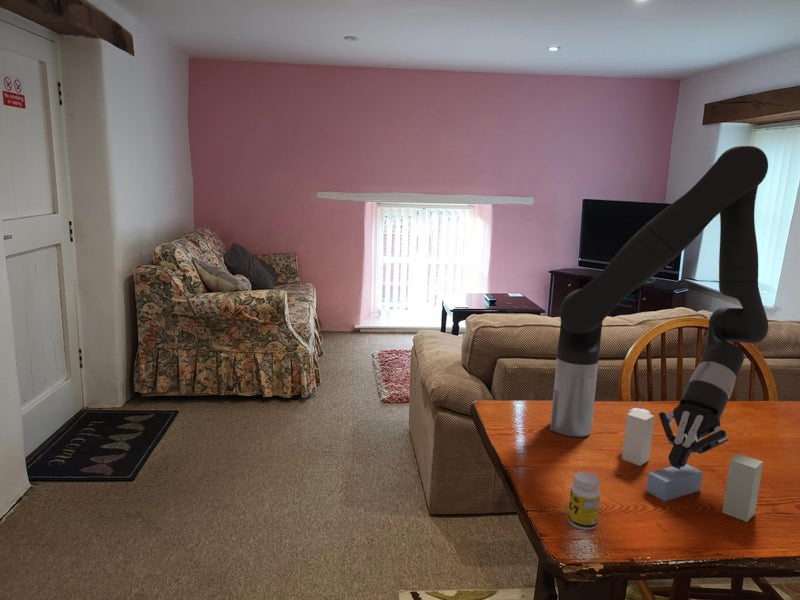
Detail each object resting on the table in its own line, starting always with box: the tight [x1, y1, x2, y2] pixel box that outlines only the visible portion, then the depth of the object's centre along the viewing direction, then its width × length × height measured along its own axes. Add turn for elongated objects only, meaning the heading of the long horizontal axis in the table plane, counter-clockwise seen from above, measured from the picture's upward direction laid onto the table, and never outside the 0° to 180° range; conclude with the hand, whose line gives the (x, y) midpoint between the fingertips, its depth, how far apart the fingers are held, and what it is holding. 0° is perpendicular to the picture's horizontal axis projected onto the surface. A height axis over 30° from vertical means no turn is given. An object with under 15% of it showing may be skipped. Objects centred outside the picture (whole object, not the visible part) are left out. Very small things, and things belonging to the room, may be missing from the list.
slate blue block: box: [646, 463, 704, 502], centre depth 112 cm, size 4×4×10 cm
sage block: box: [721, 453, 764, 523], centre depth 104 cm, size 4×4×10 cm
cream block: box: [621, 410, 655, 467], centre depth 124 cm, size 4×4×10 cm
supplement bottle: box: [567, 471, 601, 531], centre depth 99 cm, size 5×5×8 cm
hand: (674, 465), depth 110 cm, fingers closed
